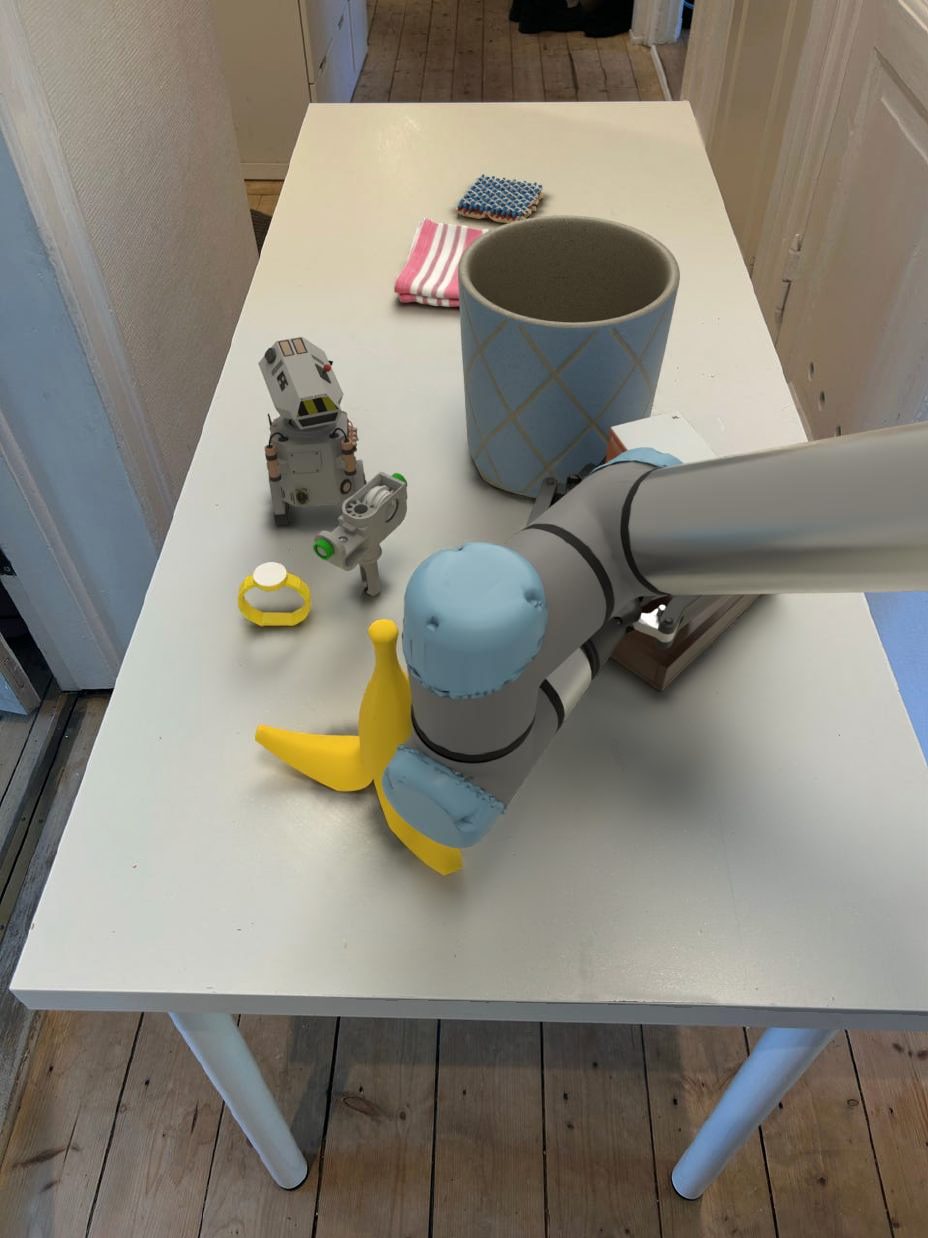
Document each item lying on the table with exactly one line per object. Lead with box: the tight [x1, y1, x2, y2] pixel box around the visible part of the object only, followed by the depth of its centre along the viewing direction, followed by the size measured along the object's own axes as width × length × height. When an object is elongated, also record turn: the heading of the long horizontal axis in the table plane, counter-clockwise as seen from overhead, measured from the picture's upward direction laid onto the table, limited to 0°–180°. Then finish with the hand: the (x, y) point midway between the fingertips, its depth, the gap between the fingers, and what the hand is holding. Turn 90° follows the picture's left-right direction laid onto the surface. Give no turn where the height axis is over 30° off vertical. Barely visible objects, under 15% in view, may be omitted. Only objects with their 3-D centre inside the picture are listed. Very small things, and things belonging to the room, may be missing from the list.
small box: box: [605, 410, 720, 600], centre depth 73 cm, size 8×6×13 cm
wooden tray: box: [609, 594, 762, 692], centre depth 79 cm, size 17×17×3 cm
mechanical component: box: [312, 471, 408, 597], centre depth 76 cm, size 3×10×10 cm, turn 145°
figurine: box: [257, 336, 368, 526], centre depth 83 cm, size 9×12×15 cm
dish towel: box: [393, 217, 491, 308], centre depth 114 cm, size 17×23×4 cm
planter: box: [458, 214, 681, 499], centre depth 85 cm, size 19×19×20 cm
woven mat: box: [455, 173, 545, 224], centre depth 127 cm, size 10×11×2 cm
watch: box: [237, 561, 312, 627], centre depth 76 cm, size 6×3×6 cm, turn 93°
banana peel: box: [254, 618, 464, 876], centre depth 62 cm, size 16×19×17 cm
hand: (679, 474), depth 75 cm, fingers closed on small box, 10 cm apart
